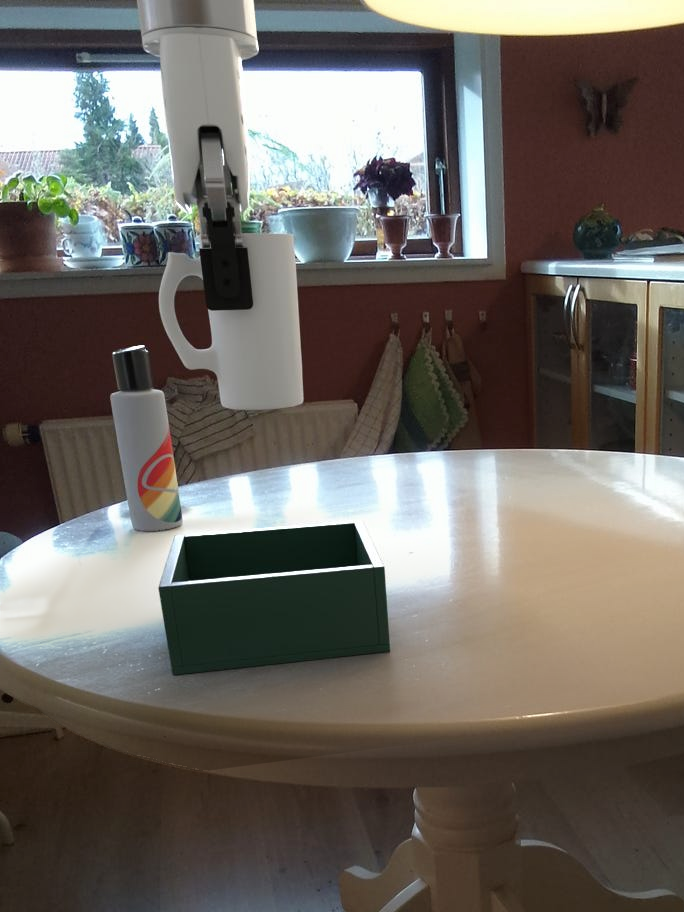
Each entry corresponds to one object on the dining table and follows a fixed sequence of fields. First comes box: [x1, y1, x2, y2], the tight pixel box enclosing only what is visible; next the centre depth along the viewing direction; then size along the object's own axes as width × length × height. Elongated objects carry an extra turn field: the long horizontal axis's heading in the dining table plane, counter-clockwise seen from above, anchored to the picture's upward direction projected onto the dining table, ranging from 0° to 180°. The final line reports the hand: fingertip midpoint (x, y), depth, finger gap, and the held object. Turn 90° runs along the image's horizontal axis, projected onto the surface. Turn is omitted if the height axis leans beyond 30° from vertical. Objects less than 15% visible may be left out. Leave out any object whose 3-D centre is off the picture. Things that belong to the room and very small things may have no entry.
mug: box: [158, 232, 304, 411], centre depth 68 cm, size 10×7×12 cm, turn 113°
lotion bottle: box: [109, 345, 183, 532], centre depth 104 cm, size 6×6×20 cm
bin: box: [157, 520, 391, 676], centre depth 73 cm, size 16×15×7 cm
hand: (231, 306), depth 68 cm, fingers closed on mug, 6 cm apart
